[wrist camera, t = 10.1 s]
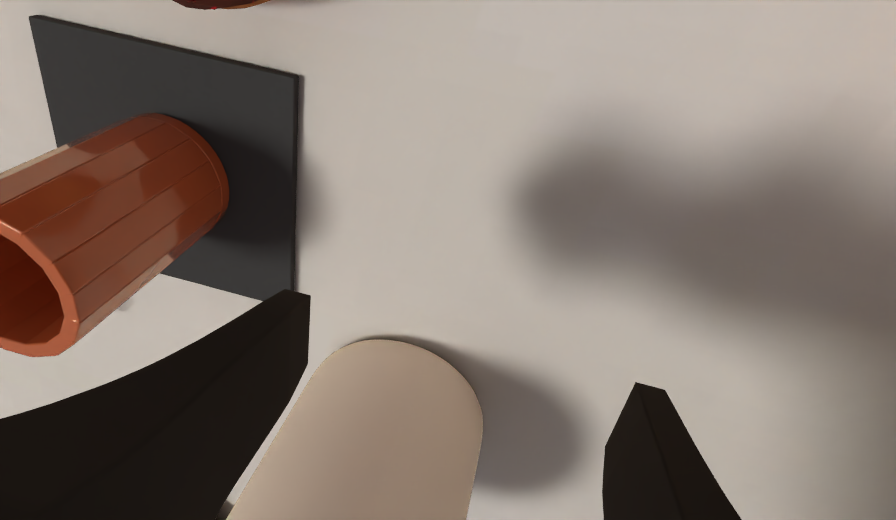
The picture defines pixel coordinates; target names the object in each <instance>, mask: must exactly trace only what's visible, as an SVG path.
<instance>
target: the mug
mask: <svg viewBox="0 0 896 520" xmlns="http://www.w3.org/2000/svg"><path fill="white" fill-rule="evenodd" d="M482 434H483V417H482V411H481V407H480V404H479V402H478V399H477V397H476V395H475V393H474V391H473V389H472V387H471V386H470V385H469V383H468V382H467V380H466V379H465V378H464V377H463V376H462V375H461V374H460V373H459V372H458V371H457V370H456V369H455V368H454V367H453V366H452V365H450V364H449V363H448V362H446V361H445V360H443V359H442V358H440V357H439V356H437V355H435V354H433V353H432V352H430V351H428V350H425V349H423V348H421V347H418V346H415V345H412V344H409V343H404V342H399V341H392V340H366V341H360V342H356V343H352V344H350V345H347V346H345V347H343V348H341V349H339V350H337V351H336V352H334V353H332V354H331V355H330V356H329V357H328V358H326V359H325V361H324V362H323V363H322V364H321V365H320V366H319V367H318V369H317V370H316V371H315V373H314V374H313V375H312V377H311V379H310V380H309V382H308V383H307V385H306V387H305V388H304V390H303V392H302V393H301V395H300V397H299V398H298V400H297V402H296V403H295V405H294V407H293V408H292V410H291V412H290V413H289V415H288V417H287V418H286V420H285V422H284V423H283V425H282V427H281V428H280V430H279V432H278V433H277V435H276V437H275V438H274V440H273V442H272V443H271V445H270V447H269V449H268V450H267V452H266V454H265V455H264V457H263V459H262V460H261V462H260V464H259V465H258V467H257V469H256V470H255V472H254V474H253V475H252V477H251V479H250V480H249V482H248V484H247V485H246V487H245V489H244V490H243V492H242V494H241V495H240V497H239V499H238V500H237V502H236V504H235V505H234V507H233V509H232V510H231V512H230V514H229V515H228V517H227V519H226V520H466V517H467V512H468V507H469V502H470V497H471V493H472V488H473V483H474V478H475V473H476V468H477V463H478V458H479V453H480V447H481V442H482Z"/></svg>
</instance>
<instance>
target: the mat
mask: <svg viewBox="0 0 896 520" xmlns="http://www.w3.org/2000/svg"><path fill="white" fill-rule="evenodd" d="M29 21H30V25H31V30H32V34H33V39H34V43H35V48H36V53H37V57H38V62H39V66H40V71H41V75H42V80H43V84H44V89H45V94H46V98H47V103H48V107H49V112H50V116H51V121H52V125H53V130H54V135H55V139H56V144H57V148H59V147H61V146H63V145H65V144H68V143H70V142H72V141H74V140H77V139H79V138H81V137H83V136H86V135H88V134H90V133H92V132H95V131H97V130H99V129H101V128H104V127H106V126H108V125H110V124H113V123H115V122H117V121H119V120H124V119H127V118H129V117H131V116H134V115H137V114H142V113H157V114H163V115H166V116H170V117H173V118H175V119H177V120H179V121H181V122H183V123H185V124H187V125H188V126H190V127H191V128H192V129H194V130H195V131H196V132H198V133H199V134H200V135H201V136H202V137H203V138H204V139H205V140H206V141H207V142H208V143H209V144H210V146H211V147H212V148H213V149H214V151H215V152H216V154H217V155H218V157H219V159H220V160H221V162H222V165H223V167H224V169H225V172H226V175H227V178H228V182H229V203H228V207H227V210H226V212H225V214H224V216H223V218H222V219H221V220H220V221H219V222H218V223H217V224H216V225H215V226H214V227H213V228H212V229H211V230H210V231H209V232H207V233H206V234H205V235H204V236H203V237H201V238H200V239H199V240H198V241H197V242H196V243H194V244H193V245H192V246H191V247H190V248H188V249H187V250H186V251H185V252H184V253H182V254H181V255H180V256H179V257H178V258H177V259H175V260H174V261H173V262H172V263H171V264H169V265H168V266H167V267H166V268H165V269H163V270H162V271H161V272H160V273H161V274H165V275H168V276H172V277H176V278H180V279H183V280H187V281H191V282H194V283H198V284H202V285H206V286H209V287H213V288H217V289H220V290H224V291H228V292H232V293H235V294H239V295H243V296H246V297H250V298H254V299H258V300H261V301H265V300H267V299H268V298H270V297H272V296H273V295H275V294H277V293H278V292H280V291H282V290H284V289H287V290H291V291H294V271H295V226H296V181H297V135H298V90H299V76H298V75H294V74H290V73H286V72H281V71H277V70H273V69H268V68H264V67H260V66H255V65H251V64H247V63H242V62H238V61H234V60H229V59H225V58H221V57H216V56H212V55H208V54H203V53H199V52H195V51H191V50H186V49H182V48H178V47H173V46H169V45H165V44H160V43H156V42H152V41H147V40H143V39H139V38H134V37H130V36H126V35H121V34H117V33H113V32H108V31H104V30H100V29H95V28H91V27H87V26H83V25H78V24H74V23H70V22H65V21H61V20H57V19H52V18H48V17H44V16H39V15H34V16H29Z"/></svg>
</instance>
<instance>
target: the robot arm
mask: <svg viewBox="0 0 896 520" xmlns="http://www.w3.org/2000/svg"><path fill="white" fill-rule="evenodd" d="M310 298H311V296H310V295H306V294H302V293H299V292H295V291H291V290H287V289H284V290H282V291H280V292H278V293H277V294H275V295H273V296H272V297H270V298H268V299H267V300H265V301H263V302H262V303H260V304H258V305H257V306H255V307H254V308H252V309H250V310H249V311H247V312H245V313H244V314H242V315H240V316H239V317H237V318H236V319H234V320H232V321H231V322H229V323H227V324H225V325H224V326H222V327H220V328H219V329H217V330H215V331H213V332H212V333H210V334H208V335H207V336H205V337H203V338H201V339H199V340H198V341H196V342H194V343H192V344H190V345H188V346H186V347H184V348H183V349H181V350H179V351H177V352H175V353H173V354H171V355H169V356H167V357H165V358H163V359H161V360H159V361H157V362H155V363H153V364H151V365H149V366H146V367H144V368H142V369H140V370H138V371H135V372H133V373H131V374H128V375H126V376H124V377H121V378H119V379H117V380H114V381H112V382H109V383H107V384H104V385H102V386H99V387H96V388H93V389H91V390H88V391H85V392H82V393H80V394H77V395H74V396H71V397H69V398H66V399H63V400H60V401H57V402H55V403H52V404H49V405H46V406H42V407H39V408H36V409H33V410H29V411H26V412H23V413H20V414H16V415H13V416H9V417H6V418H2V419H0V520H215V519H216V517H217V515H218V513H219V511H220V509H221V507H222V505H223V504H224V502H225V500H226V499H227V497H228V495H229V494H230V492H231V490H232V489H233V487H234V485H235V484H236V482H237V481H238V479H239V478H240V476H241V475H242V473H243V472H244V470H245V469H246V467H247V466H248V464H249V463H250V461H251V460H252V458H253V457H254V455H255V454H256V452H257V451H258V449H259V448H260V446H261V445H262V443H263V442H264V440H265V439H266V437H267V436H268V434H269V433H270V431H271V429H272V428H273V426H274V425H275V423H276V422H277V420H278V419H279V417H280V416H281V414H282V413H283V411H284V409H285V408H286V406H287V405H288V403H289V401H290V399H291V397H292V395H293V393H294V391H295V389H296V387H297V385H298V383H299V381H300V379H301V377H302V375H303V373H304V371H305V369H306V366H307V364H308V346H309V322H310ZM602 494H603V512H604V520H741V518H740V517H739V515H738V514H737V512H736V511H735V509H734V508H733V506H732V505H731V503H730V502H729V500H728V499H727V497H726V496H725V494H724V492H723V491H722V489H721V488H720V486H719V484H718V483H717V481H716V479H715V478H714V476H713V474H712V473H711V471H710V469H709V468H708V466H707V464H706V463H705V461H704V459H703V458H702V456H701V454H700V452H699V451H698V449H697V447H696V445H695V444H694V442H693V440H692V438H691V436H690V435H689V433H688V431H687V429H686V427H685V426H684V424H683V422H682V420H681V418H680V416H679V415H678V413H677V411H676V409H675V407H674V405H673V404H672V402H671V400H670V398H669V397H668V395H667V393H666V391H665V390H663V389H659V388H655V387H652V386H648V385H644V384H640V383H637V382H636V383H635V385H634V387H633V389H632V391H631V393H630V395H629V397H628V400H627V402H626V404H625V406H624V408H623V410H622V412H621V414H620V416H619V418H618V421H617V423H616V425H615V427H614V429H613V431H612V433H611V435H610V437H609V439H608V442H607V444H606V446H605V457H604V470H603V490H602Z"/></svg>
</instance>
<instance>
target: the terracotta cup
mask: <svg viewBox="0 0 896 520" xmlns="http://www.w3.org/2000/svg"><path fill="white" fill-rule="evenodd" d="M228 203H229V182H228V178H227V175H226V172H225V169H224V167H223V165H222V162H221V160H220V159H219V157H218V155H217V154H216V152H215V151H214V149H213V148H212V147H211V146H210V144H209V143H208V142H207V141H206V140H205V139H204V138H203V137H202V136H201V135H200V134H199V133H198V132H196V131H195V130H194V129H192V128H191V127H190V126H188V125H187V124H185V123H183V122H181V121H179V120H177V119H175V118H173V117H170V116H166V115H163V114H157V113H142V114H137V115H134V116H131V117H129V118H127V119H124V120H119V121H117V122H115V123H113V124H110V125H108V126H106V127H104V128H101V129H99V130H97V131H95V132H92V133H90V134H88V135H86V136H83V137H81V138H79V139H77V140H74V141H72V142H70V143H68V144H65V145H63V146H61V147H59V148H56V149H54V150H52V151H50V152H47V153H45V154H43V155H41V156H38V157H36V158H34V159H31V160H29V161H27V162H25V163H22V164H20V165H18V166H16V167H13V168H11V169H9V170H7V171H4V172H2V173H0V348H3V349H5V350H9V351H12V352H15V353H19V354H22V355H26V356H29V357H31V356H32V357H43V356H56V355H59V354H61V353H62V352H64V351H65V350H67V349H68V348H70V347H71V346H73V345H74V344H75V343H77V342H78V341H79V340H80V339H81V338H82V337H84V336H85V335H86V334H87V333H88V332H90V331H91V330H92V329H93V328H94V327H96V326H97V325H98V324H99V323H100V322H102V321H103V320H104V319H105V318H106V317H107V316H109V315H110V314H111V313H112V312H113V311H115V310H116V309H117V308H118V307H119V306H121V305H122V304H123V303H124V302H125V301H127V300H128V299H129V298H130V297H131V296H132V295H134V294H135V293H136V292H137V291H138V290H140V289H141V288H142V287H143V286H144V285H146V284H147V283H148V282H149V281H150V280H152V279H153V278H154V277H155V276H156V275H157V274H159V273H160V272H161V271H162V270H163V269H165V268H166V267H167V266H168V265H169V264H171V263H172V262H173V261H174V260H175V259H177V258H178V257H179V256H180V255H181V254H182V253H184V252H185V251H186V250H187V249H188V248H190V247H191V246H192V245H193V244H194V243H196V242H197V241H198V240H199V239H200V238H201V237H203V236H204V235H205V234H206V233H207V232H209V231H210V230H211V229H212V228H213V227H214V226H215V225H216V224H217V223H218V222H219V221H220V220H221V219H222V218H223V216H224V214H225V212H226V210H227V207H228Z"/></svg>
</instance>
